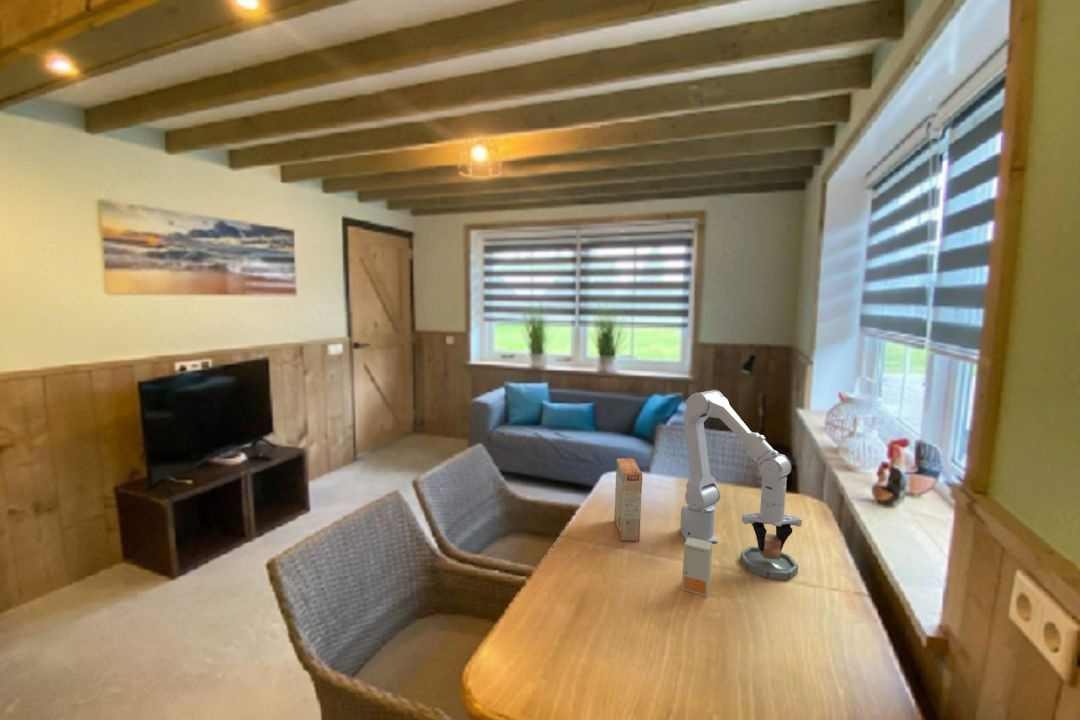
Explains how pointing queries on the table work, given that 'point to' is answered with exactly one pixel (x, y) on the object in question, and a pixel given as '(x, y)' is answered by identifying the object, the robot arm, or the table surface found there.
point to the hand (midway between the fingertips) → (769, 549)
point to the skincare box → (697, 566)
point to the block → (771, 547)
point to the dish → (769, 564)
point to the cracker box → (628, 499)
